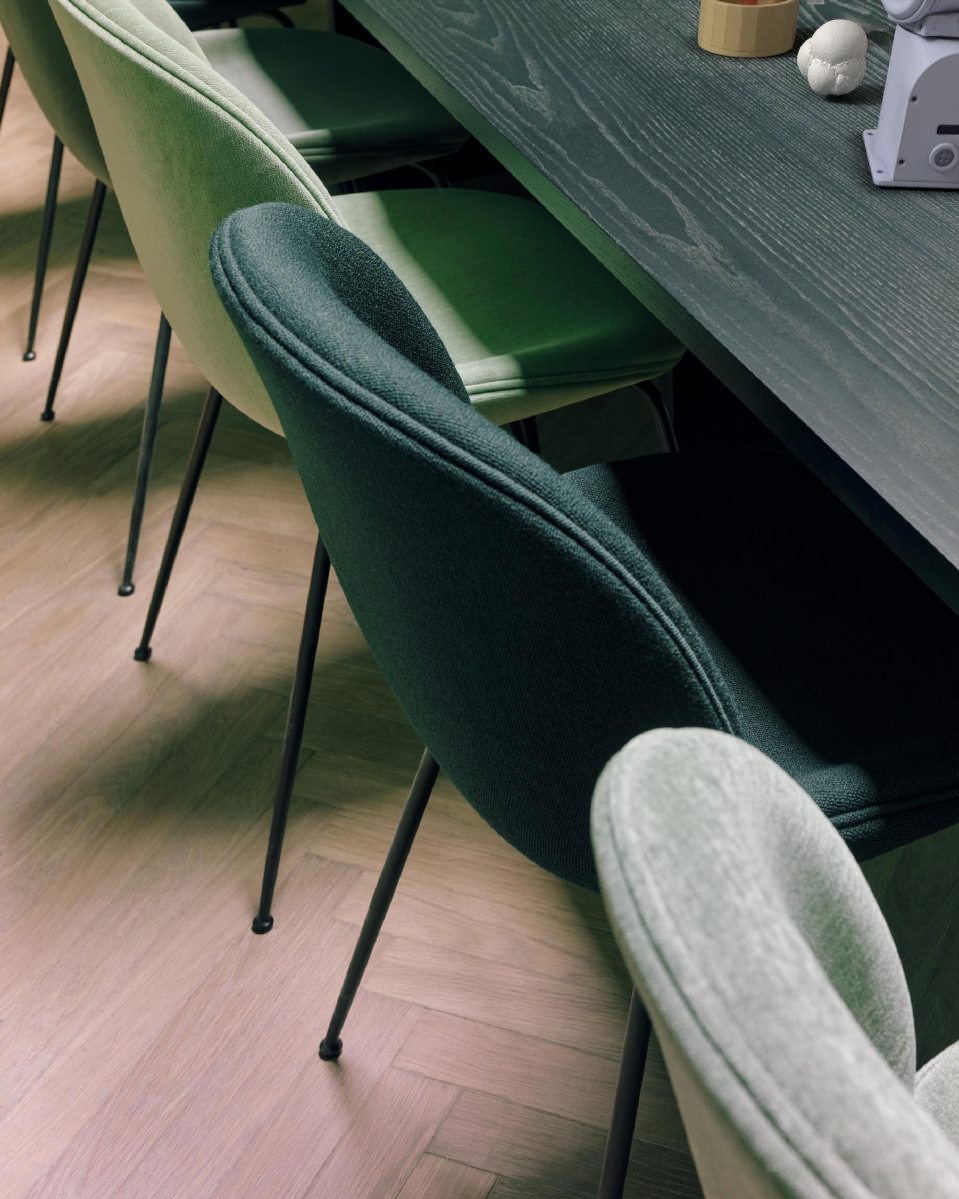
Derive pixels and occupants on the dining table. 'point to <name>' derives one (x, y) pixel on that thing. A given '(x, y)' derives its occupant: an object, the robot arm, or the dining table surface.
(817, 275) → the dining table surface
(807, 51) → the microfossil shell
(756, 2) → the straw
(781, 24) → the tumbler
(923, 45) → the robot arm
